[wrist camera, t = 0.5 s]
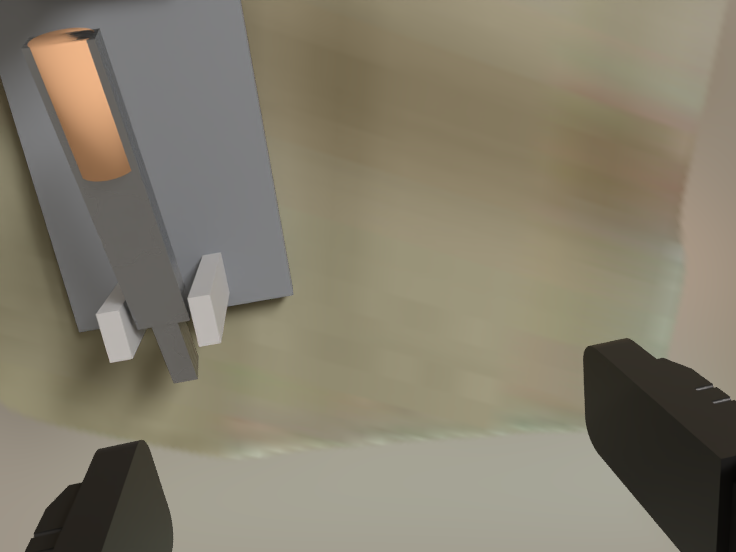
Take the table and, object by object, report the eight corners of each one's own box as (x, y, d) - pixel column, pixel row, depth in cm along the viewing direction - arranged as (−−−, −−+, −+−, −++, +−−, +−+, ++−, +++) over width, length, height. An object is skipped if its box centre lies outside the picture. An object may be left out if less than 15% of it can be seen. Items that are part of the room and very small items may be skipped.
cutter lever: (32, 32, 22) (17, 53, 21) (101, 23, 22) (92, 44, 21) (164, 362, 33) (160, 394, 31) (209, 354, 33) (209, 385, 31)
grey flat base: (-109, -326, 27) (-271, -497, 19) (178, -346, 28) (142, -514, 20) (86, 322, 36) (35, 393, 28) (292, 286, 38) (298, 344, 30)
